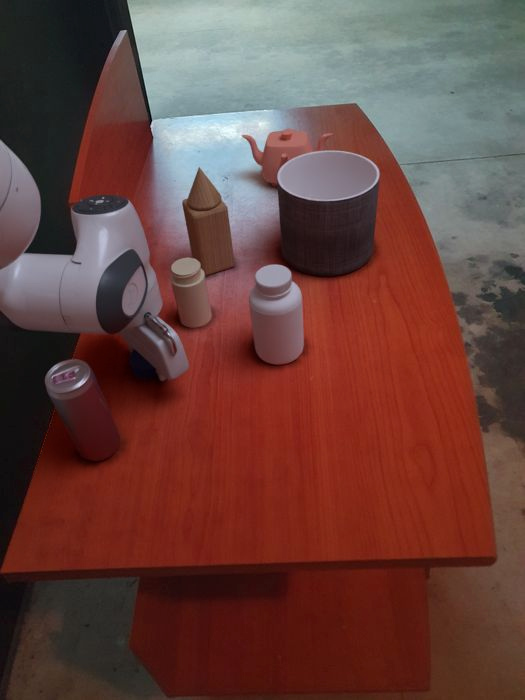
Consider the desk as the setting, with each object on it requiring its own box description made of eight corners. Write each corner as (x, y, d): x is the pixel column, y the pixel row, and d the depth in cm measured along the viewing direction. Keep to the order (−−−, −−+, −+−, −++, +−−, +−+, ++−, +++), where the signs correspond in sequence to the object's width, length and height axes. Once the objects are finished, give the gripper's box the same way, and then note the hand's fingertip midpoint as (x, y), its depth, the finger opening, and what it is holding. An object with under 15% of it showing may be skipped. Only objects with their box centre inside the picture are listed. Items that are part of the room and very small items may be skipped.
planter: (287, 222, 118) (283, 150, 107) (374, 224, 115) (380, 150, 104) (275, 275, 106) (270, 200, 95) (372, 279, 103) (379, 202, 92)
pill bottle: (248, 338, 94) (239, 265, 84) (294, 326, 96) (291, 253, 85) (263, 371, 89) (255, 298, 78) (311, 358, 90) (310, 284, 80)
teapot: (333, 177, 130) (334, 130, 122) (285, 201, 124) (283, 153, 116) (291, 156, 138) (289, 111, 130) (244, 178, 132) (240, 132, 125)
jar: (184, 331, 97) (172, 280, 89) (176, 311, 101) (164, 260, 93) (215, 322, 98) (206, 271, 90) (207, 303, 102) (197, 252, 94)
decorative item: (236, 267, 108) (223, 169, 94) (203, 277, 107) (186, 180, 93) (223, 249, 113) (209, 153, 99) (192, 259, 111) (173, 163, 97)
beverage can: (76, 436, 83) (40, 366, 72) (117, 423, 84) (87, 352, 73) (82, 469, 79) (45, 399, 68) (125, 454, 80) (95, 384, 69)
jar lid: (167, 349, 94) (165, 339, 92) (170, 375, 90) (168, 365, 88) (131, 356, 94) (128, 346, 92) (133, 382, 89) (129, 372, 88)
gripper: (190, 322, 77) (205, 389, 87) (113, 260, 89) (133, 325, 99) (151, 345, 75) (171, 412, 84) (77, 279, 86) (102, 344, 96)
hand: (150, 365), depth 92 cm, fingers closed on jar lid, 6 cm apart
